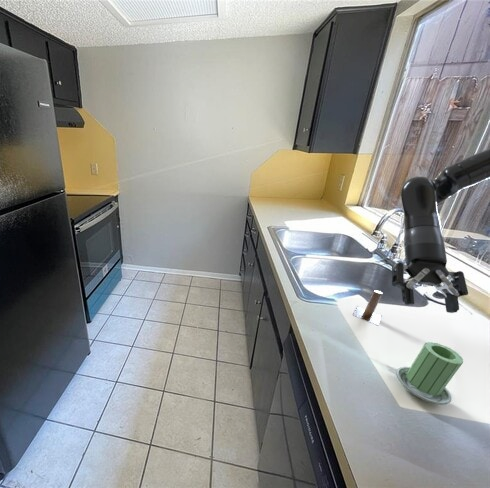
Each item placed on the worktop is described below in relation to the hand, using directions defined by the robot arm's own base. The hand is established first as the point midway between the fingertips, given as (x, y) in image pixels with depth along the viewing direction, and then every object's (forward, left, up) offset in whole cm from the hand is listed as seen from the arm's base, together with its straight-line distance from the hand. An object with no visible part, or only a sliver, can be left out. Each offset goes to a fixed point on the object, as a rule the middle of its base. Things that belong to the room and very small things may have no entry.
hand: (430, 308), depth 62 cm
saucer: (-4, +8, -18) cm, 20 cm away
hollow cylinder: (-4, +8, -15) cm, 18 cm away
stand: (+10, -14, -18) cm, 25 cm away
